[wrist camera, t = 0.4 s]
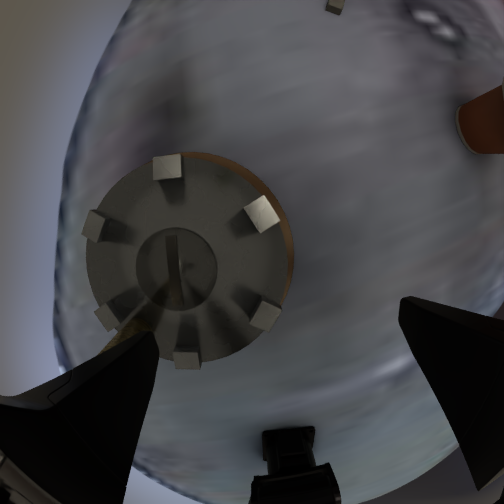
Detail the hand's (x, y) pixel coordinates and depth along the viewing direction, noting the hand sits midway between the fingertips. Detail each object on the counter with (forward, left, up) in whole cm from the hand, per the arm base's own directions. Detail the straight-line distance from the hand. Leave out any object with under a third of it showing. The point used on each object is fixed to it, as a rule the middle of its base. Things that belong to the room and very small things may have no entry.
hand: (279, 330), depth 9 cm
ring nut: (0, +6, -14) cm, 15 cm away
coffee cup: (+14, -27, -16) cm, 34 cm away
